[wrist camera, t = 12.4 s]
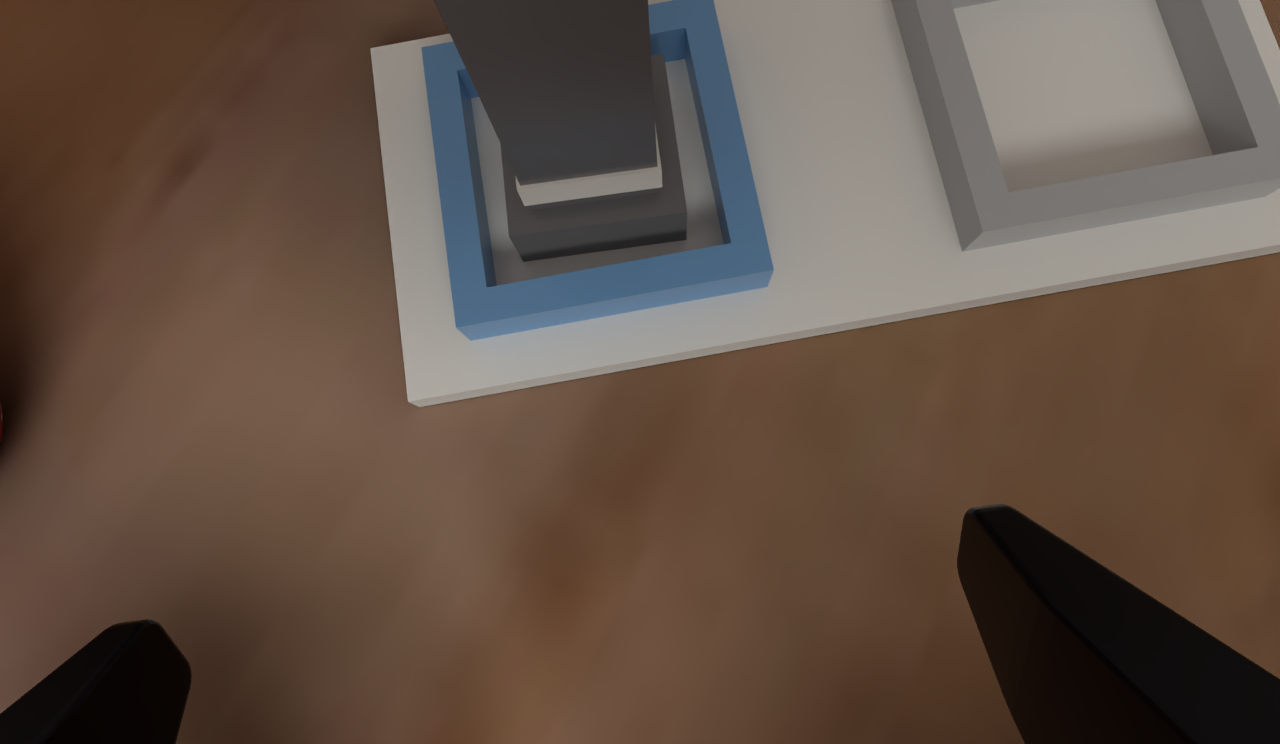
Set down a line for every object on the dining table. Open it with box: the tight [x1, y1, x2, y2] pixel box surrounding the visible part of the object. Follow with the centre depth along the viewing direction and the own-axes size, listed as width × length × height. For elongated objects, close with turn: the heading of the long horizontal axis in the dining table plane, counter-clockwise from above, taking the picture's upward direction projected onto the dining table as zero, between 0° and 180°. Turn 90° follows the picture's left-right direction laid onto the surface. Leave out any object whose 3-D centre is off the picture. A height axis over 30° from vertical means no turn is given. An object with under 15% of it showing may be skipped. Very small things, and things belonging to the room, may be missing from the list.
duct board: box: [370, 0, 1280, 407], centre depth 22 cm, size 28×12×2 cm, turn 100°
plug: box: [434, 0, 687, 262], centre depth 16 cm, size 5×5×13 cm
